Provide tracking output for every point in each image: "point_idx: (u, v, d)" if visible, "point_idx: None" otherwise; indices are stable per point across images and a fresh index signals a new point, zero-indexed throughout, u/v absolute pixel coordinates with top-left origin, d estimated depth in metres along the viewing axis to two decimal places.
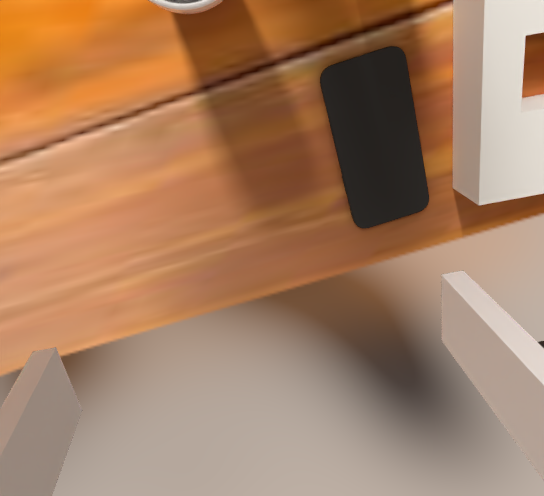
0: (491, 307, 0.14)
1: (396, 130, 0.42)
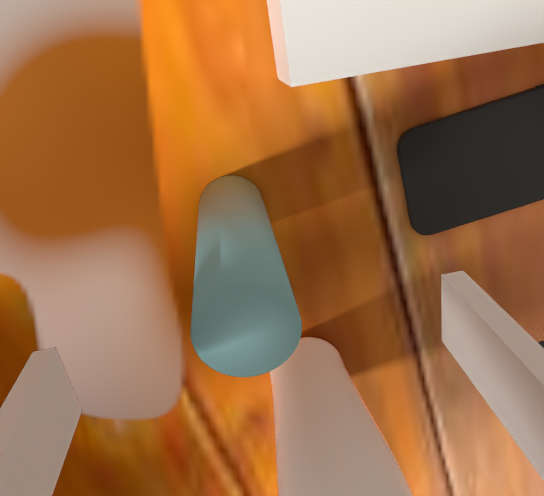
0: (491, 307, 0.14)
1: (507, 130, 0.30)
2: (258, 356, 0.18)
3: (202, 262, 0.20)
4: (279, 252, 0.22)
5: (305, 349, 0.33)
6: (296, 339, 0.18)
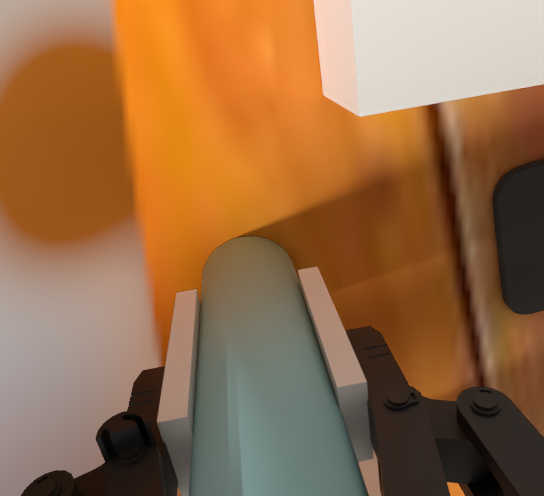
0: (323, 298, 0.16)
1: None
2: None
3: (205, 459, 0.10)
4: None
5: None
6: None
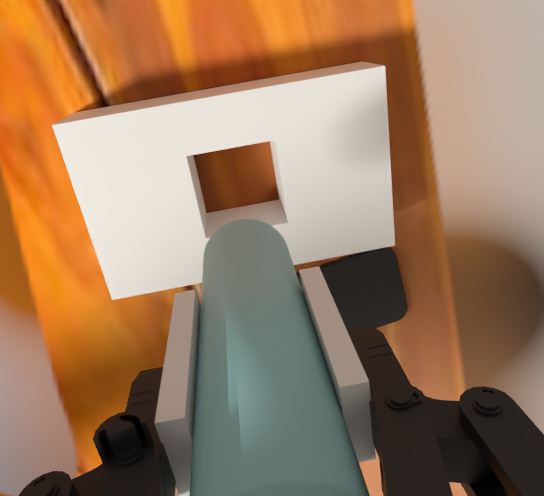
0: (324, 298, 0.16)
1: None
2: None
3: (207, 395, 0.12)
4: None
5: None
6: None
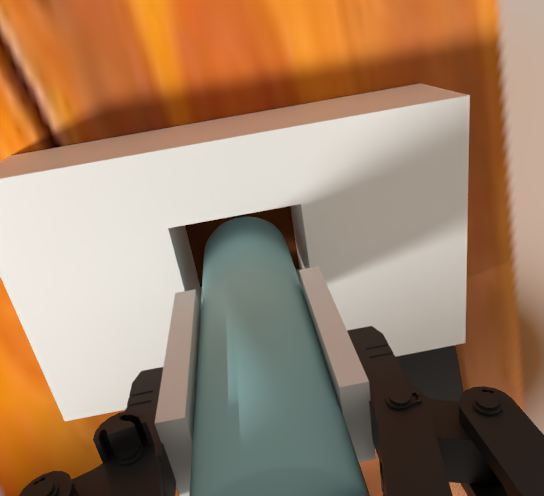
0: (324, 298, 0.16)
1: None
2: None
3: (207, 386, 0.13)
4: (323, 356, 0.14)
5: None
6: None
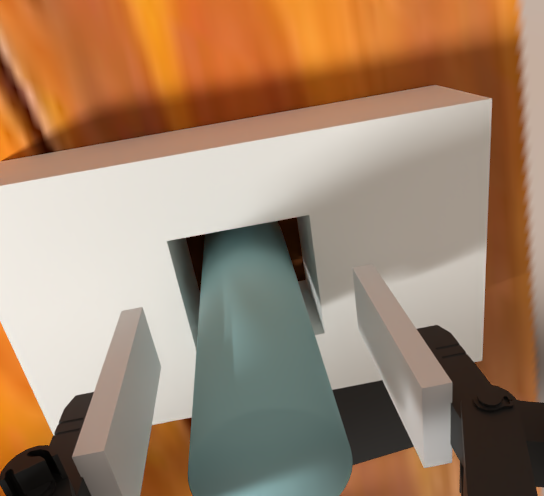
0: (385, 296, 0.15)
1: (336, 403, 0.29)
2: None
3: (206, 349, 0.14)
4: (311, 326, 0.16)
5: None
6: (344, 480, 0.12)
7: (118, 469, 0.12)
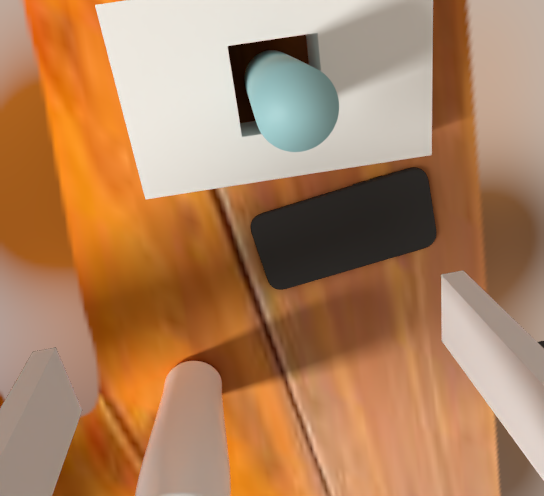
0: (491, 307, 0.14)
1: (332, 215, 0.40)
2: (304, 133, 0.23)
3: (259, 74, 0.25)
4: None
5: (187, 371, 0.43)
6: (334, 120, 0.23)
7: None
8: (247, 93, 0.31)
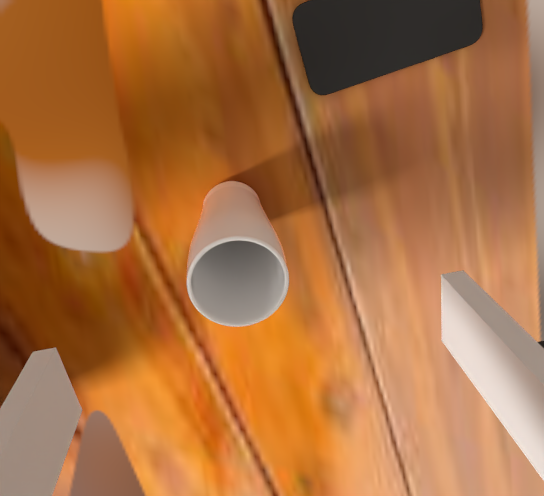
0: (491, 307, 0.14)
1: (377, 4, 0.39)
2: None
3: None
4: None
5: (227, 185, 0.42)
6: None
7: None
8: None
